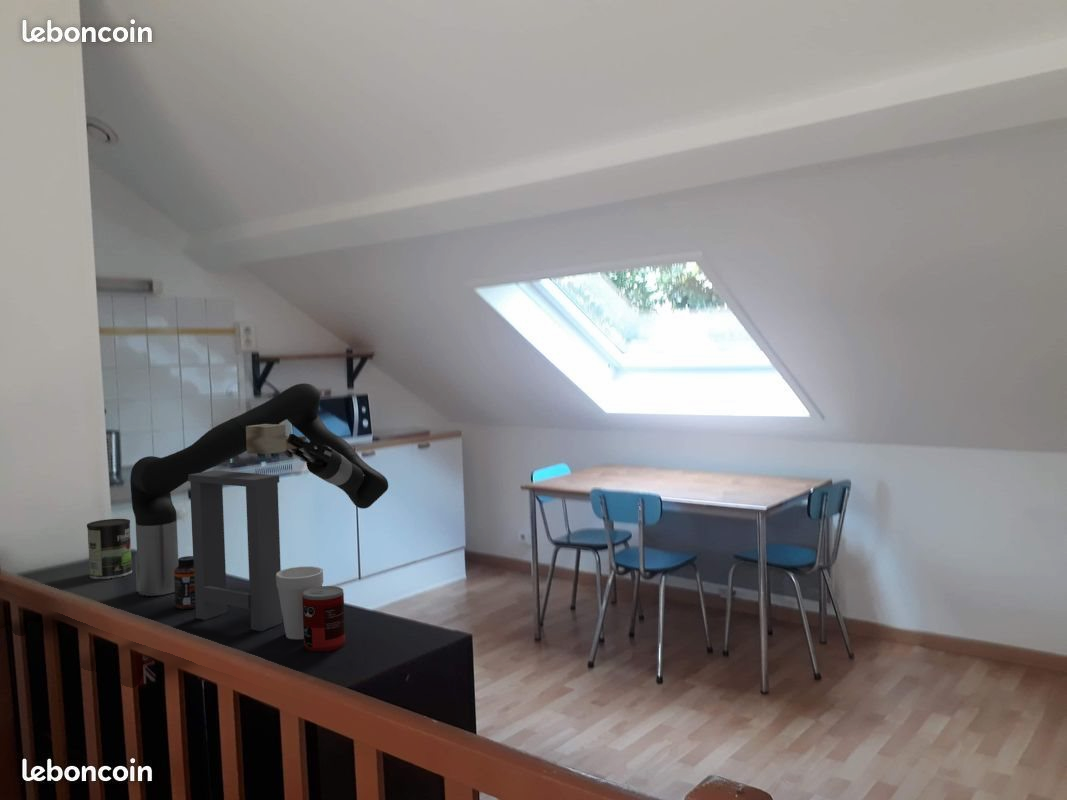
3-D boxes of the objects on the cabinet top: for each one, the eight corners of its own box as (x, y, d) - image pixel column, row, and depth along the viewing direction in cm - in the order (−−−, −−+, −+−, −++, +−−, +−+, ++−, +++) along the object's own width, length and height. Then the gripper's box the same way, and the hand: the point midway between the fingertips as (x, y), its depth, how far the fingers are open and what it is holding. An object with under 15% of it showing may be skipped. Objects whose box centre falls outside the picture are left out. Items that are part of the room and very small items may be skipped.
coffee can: (139, 569, 229) (137, 518, 228) (120, 579, 218) (118, 526, 218) (102, 569, 229) (99, 518, 228) (81, 580, 218) (78, 526, 218)
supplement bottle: (193, 610, 191) (191, 561, 190) (169, 609, 192) (167, 560, 191) (208, 602, 197) (206, 555, 196) (185, 601, 198) (183, 554, 197)
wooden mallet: (246, 452, 188) (245, 426, 188) (292, 445, 200) (291, 420, 200) (266, 454, 185) (265, 427, 185) (311, 447, 197) (310, 421, 197)
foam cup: (282, 644, 167) (280, 580, 166) (274, 631, 175) (271, 570, 174) (330, 636, 171) (328, 574, 171) (319, 624, 180) (317, 564, 179)
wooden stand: (194, 618, 185) (188, 474, 183) (219, 609, 191) (214, 470, 189) (259, 632, 175) (253, 480, 173) (284, 622, 181) (279, 475, 179)
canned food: (307, 639, 170) (306, 586, 169) (347, 638, 171) (346, 584, 170) (300, 653, 162) (298, 597, 162) (342, 651, 163) (340, 595, 162)
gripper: (313, 450, 212) (267, 421, 199) (356, 453, 206) (312, 423, 192) (303, 478, 209) (256, 450, 196) (347, 481, 203) (301, 453, 189)
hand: (284, 437), depth 194 cm, fingers closed on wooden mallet, 3 cm apart
